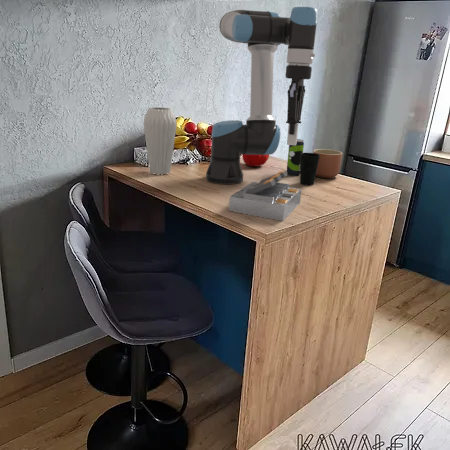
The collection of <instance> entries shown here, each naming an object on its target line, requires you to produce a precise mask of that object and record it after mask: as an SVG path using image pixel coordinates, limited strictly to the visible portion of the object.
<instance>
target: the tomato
mask: <svg viewBox="0 0 450 450" xmlns="http://www.w3.org/2000/svg"><path fill="white" fill-rule="evenodd" d="M241 155H242V157H241V159H242V160H243V162H244V164H245V165H246V166H249V167H259V166H262V165H265V164H266V163H267V162H268V160H269V158H270V155H246V154H241Z"/></svg>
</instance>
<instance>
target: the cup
mask: <svg viewBox="0 0 450 450" xmlns="http://www.w3.org/2000/svg"><path fill="white" fill-rule="evenodd" d="M319 158H320V155H319V154H315V153H313V152H303V153H301V156H300V175H299V184H300V185H303V186H308V187H309V186H314V185H315V180H316V178H317V176H316V172H317V167H318V163H319Z"/></svg>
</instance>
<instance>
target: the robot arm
mask: <svg viewBox="0 0 450 450" xmlns="http://www.w3.org/2000/svg"><path fill="white" fill-rule="evenodd" d="M317 24H318V10H317V8H316V7H313V6H310V7H309V6H296V7H293V8H292V9H291V11H290V16H289V17H285V16H284V17H282V16H280V14H279V13H278V12H274V11H273V12H272V11H267V10H266V11H265V10H264V11H262V10H247V9H235V10H231V11H229V12H226V13H225V14H223V16H222V17H221V19H220V21H219V24H218V25H219V27H218V28H219V31H220V33H221V35H222V37H224V38H225V39H226V40H229V41H232V42H234V43H239V44H241V43H242V44H247V50H248V51H249V52H250V54H251V59H250V60H251V61H250V62H251V63H250V64H251V65H250V67H251V70H250V104H249V105H250V110H249V111H250V113H249V115H250V116H249V117H248V118H247V119H246V120H245V121H246V122H245V124H243V122H242V120H240V119H239V120H238V119H237V120H230V119H229V120H223V121H218V122H215V123H214V124H213V126H212V130H211V151H210V162H209V165H208V168H207V170H206V174H205V180H206V181H207V182H209V183H214V184H219V185H236V184H240V183H242V182H244V173H243V168H242V165H241V155H242V154H246V155H269V156H270V155H274V154H275V153H276V151H277V149H278V147H279V145H280V140H281V127H280V126H279V125H277V124H276V119H275V118H274V117H273V93H274V92H273V87H274V85H273V84H274V53H275V52H277V50H278V48H279V47H278V46H280V45H286V46H287V55H286V63H287V65H286V66H285V67H286V68H285V78H286V79H291V82H290V84H289V86H288V90H287V113H286V114H287V117H286V118H287V119H286V122H285V124H288V127H287V140H286V145H288V146H289V145H296V144H297V139H298V131H299V124H302V121H301V119H302V118H301V116H302V112H303V104H304V99H305V95H306V94H305V93H306V86H305V85H304V82H305V81H304V80H310V79H311V77H312V66H311V65H312V64H313V59H314V58H315V57H316V53H314V49H315V43H316V41H315V40H316V32H317V31H316V30H317Z"/></svg>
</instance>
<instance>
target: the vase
mask: <svg viewBox="0 0 450 450" xmlns="http://www.w3.org/2000/svg"><path fill="white" fill-rule="evenodd" d="M143 131H144V137H145V138H144V139H145V145H146V151H147V159H148V167H149V173H150V172H151V173H155V174H167V173H170V174H171V167H172V161H173V153H174V147H175V139H176V134H177V133H176V132H177V119H176V115H175V114H174V111H173V110H172V108H169V107H159V106H158V107H157V106H155V107H154V106H153V107H149V108H148V109H147V111H146V113H145V115H144V119H143ZM151 173H150V174H151Z"/></svg>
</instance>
